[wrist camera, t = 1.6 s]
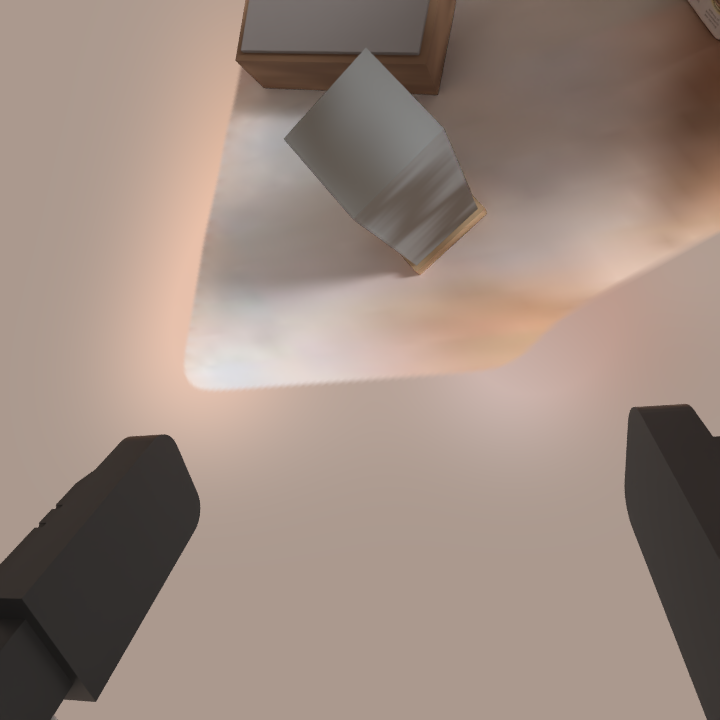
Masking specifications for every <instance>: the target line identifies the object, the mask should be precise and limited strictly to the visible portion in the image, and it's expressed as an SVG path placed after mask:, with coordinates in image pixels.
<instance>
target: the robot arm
mask: <svg viewBox="0 0 720 720" xmlns="http://www.w3.org/2000/svg"><path fill="white" fill-rule="evenodd" d="M625 498H626V505H627V511H628V515H629V519H630V522H631V525H632V528H633V530H634V533H635V536H636V538H637V541H638V543H639V546H640V548H641V551H642V554H643V556H644V559H645V561H646V564H647V566H648V569H649V572H650V574H651V577H652V579H653V582H654V584H655V587H656V590H657V592H658V594H659V597H660V600H661V603H662V605H663V607H664V610H665V613H666V615H667V618H668V621H669V623H670V626H671V628H672V631H673V633H674V636H675V638H676V641H677V643H678V646H679V649H680V651H681V654H682V657H683V659H684V661H685V664H686V667H687V669H688V672H689V675H690V677H691V679H692V682H693V685H694V687H695V690H696V693H697V695H698V698H699V700H700V703H701V705H702V708H703V710H704V713H705V716H706V718H707V720H720V436H719V437H713V436H712V435H711V433H710V432H709V431H708V429H707V428H706V426H705V425H704V423H703V422H702V421H701V420H700V418H699V417H698V415H697V414H696V412H695V411H694V410H693V408H692V407H691V406H690V405H688V404H679V405H662V406H645V407H633V408H631V410H630V413H629V418H628V433H627V450H626V470H625ZM199 516H200V500H199V496H198V493H197V491H196V489H195V486H194V484H193V482H192V479H191V477H190V475H189V472H188V470H187V468H186V466H185V463H184V461H183V458H182V456H181V454H180V451H179V449H178V447H177V445H176V443H175V441H174V440H173V439H172V438H171V437H170V436H168V435H149V436H133V437H127V438H125V439H124V440H122V441H121V442H120V443H119V444H118V446H117V447H116V448H115V449H114V450H113V451H112V452H111V453H110V454H109V455H108V456H107V458H106V459H105V460H104V461H103V462H102V463H101V464H100V465H99V466H98V467H97V468H96V469H95V470H94V471H93V472H91V473H90V474H88V475H87V476H86V477H84V478H83V479H81V480H80V481H79V482H77V483H76V484H75V485H74V486H73V487H72V488H71V489H70V490H69V491H68V493H67V494H66V495H65V496H64V497H63V498H62V499H61V500H60V501H59V502H58V503H57V504H56V509H52V510H51V511H50V512H49V513H48V514H47V515H46V516H45V517H44V518H43V519H42V520H41V521H40V523H39V527H38V528H34V529H33V530H32V531H31V532H30V533H29V534H28V535H27V537H25V538H24V540H23V541H22V542H21V543H20V544H19V545H18V546H17V547H16V548H15V549H14V550H13V552H11V554H9V556H8V557H7V558H6V559H5V560H4V561H3V562H2V563H1V564H0V720H58V719H57V718H56V717H55V716H54V714H55V712H56V711H57V709H58V707H59V706H60V704H61V703H62V701H63V699H65V700H78V701H91V702H96V701H97V699H98V697H99V695H100V694H101V692H102V690H103V689H104V687H105V685H106V683H107V682H108V680H109V678H110V676H111V674H112V673H113V671H114V669H115V668H116V666H117V664H118V663H119V661H120V659H121V657H122V655H123V654H124V652H125V650H126V649H127V647H128V645H129V644H130V642H131V640H132V638H133V637H134V635H135V633H136V631H137V630H138V628H139V626H140V624H141V623H142V621H143V619H144V617H145V616H146V614H147V612H148V610H149V609H150V607H151V605H152V604H153V602H154V600H155V598H156V597H157V595H158V593H159V591H160V590H161V588H162V586H163V585H164V583H165V581H166V579H167V578H168V576H169V574H170V572H171V571H172V569H173V567H174V566H175V564H176V562H177V560H178V558H179V557H180V555H181V553H182V552H183V550H184V548H185V546H186V545H187V543H188V541H189V540H190V538H191V536H192V534H193V533H194V531H195V529H196V527H197V524H198V521H199Z"/></svg>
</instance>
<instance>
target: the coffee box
mask: <svg viewBox="0 0 720 720" xmlns="http://www.w3.org/2000/svg"><path fill="white" fill-rule="evenodd" d="M688 2H689V3H690V4H691V6H692V7H693V9H694V10H695V11H696V13H697V14H698V16H699V17H700V18H701V20H702V21H703V22H704V24H705V25H706V26H707V28H708V29H709V31H710V32H711V33H712V34H713V36H714V37H715V38H716V39H720V0H688Z"/></svg>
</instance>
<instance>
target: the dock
mask: <svg viewBox="0 0 720 720" xmlns="http://www.w3.org/2000/svg"><path fill="white" fill-rule="evenodd" d="M455 5H456V0H246V1H245V7H244V13H243V19H242V25H241V32H240V37H239V43H238V49H237V55H236V61H237V62H238V63H239V64H240V65H241V66H242V67H243V68H244V69H245V70H246V71H247V72H248V73H249V74H250V75H251V76H252V77H253V78H254V79H255V80H256V81H257V82H258V83H259V84H260V85H261V86H262V87H263V88H278V89H304V90H328V89H329V88H330V87H331V86H332V85H333V83H334V82H335V81H336V80H337V79H338V78H339V77H340V76H341V75H342V73H343V72H344V71H345V70H346V69H347V68H348V67H349V66H350V65H351V63H352V62H353V61H354V60H355V59H356V58H357V57H358V56H359V55H360V53H361V52H362V51H363V50H364V49H365V48H367V49H368V50H369V51H370V52H371V53H372V54H373V55H374V56H375V57H376V58H377V59H378V60H379V62H380V63H381V64H382V65H383V66H384V67H385V68H386V69H387V70H388V71H389V72H390V73H391V74H392V75H393V76H394V77H395V78H396V79H397V80H398V81H399V82H400V83H401V84H402V85H403V86H404V87H405V88H406V90H407V91H408V92H409V93H410V94H431V95H438V91H439V86H440V81H441V76H442V71H443V66H444V61H445V56H446V51H447V46H448V41H449V35H450V30H451V25H452V20H453V15H454V10H455Z"/></svg>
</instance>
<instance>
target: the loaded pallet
mask: <svg viewBox="0 0 720 720" xmlns="http://www.w3.org/2000/svg"><path fill="white" fill-rule="evenodd" d="M284 140H285V141H286V142H287V143H288V144H289V146H290V147H291V148H292V149H293V150H294V151H295V153H296V154H297V155H298V156H299V157H300V158H301V160H302V161H303V162H304V163H305V164H306V165H307V167H308V168H309V169H310V170H311V171H312V172H313V173H314V175H315V176H316V177H317V178H318V179H319V180H320V182H321V183H322V184H323V185H324V186H325V187H326V189H327V190H328V191H329V192H330V193H331V194H332V195H333V197H334V198H335V199H336V200H337V201H338V202H339V204H340V205H341V206H342V207H343V208H344V209H345V211H346V212H347V213H348V214H349V215H350V216H351V217H352V219H353V220H355V221H356V222H357V223H359V224H360V225H362V226H363V227H364V228H366V229H367V230H368V231H370V232H371V233H373V234H374V235H375V236H377V237H378V238H379V239H381V240H382V241H384V242H385V243H386V244H388V245H389V246H390V247H392V248H393V249H395V250H396V251H397V252H399V253H400V254H401V256H402V257H403V258H404V259H405V260H406V261H407V262H408V264H409V265H410V266H411V267H412V268H413V269H414V270H415V272H416V273H418V274H419V275H421V274H422V273H423V272H424V271H425V270H426V269H427V268H428V267H429V266H431V265H432V264H433V263H434V262H435V261H436V260H437V259H438V258H439V257H440V256H441V255H443V254H444V253H445V252H446V251H447V250H448V249H449V248H450V247H451V246H452V245H453V244H454V243H456V242H457V241H458V240H459V239H460V238H461V237H462V236H463V235H464V234H465V233H466V232H468V231H469V230H470V229H471V228H472V227H473V226H474V225H475V224H476V223H477V222H478V221H479V220H481V219H482V218H483V217H484V216H485V215H486V214H487V213H486V210H485V208H484V207H483V206H482V205H481V204H480V203H479V202H478V201H477V200H476V199H475V198H474V197H473V195H472V194H471V191H470V189H469V187H468V184H467V182H466V179H465V177H464V175H463V172H462V170H461V168H460V165H459V163H458V160H457V158H456V156H455V153H454V151H453V149H452V146H451V144H450V141H449V139H448V137H447V134H446V132H445V129H444V128H443V127H442V126H441V125H440V124H439V123H438V122H437V121H436V120H435V119H434V118H433V116H432V115H431V114H430V113H429V112H428V111H427V110H426V109H425V108H424V107H423V106H422V105H421V104H420V103H419V102H418V101H417V100H416V99H415V98H414V97H413V96H412V95H411V94H410V93H409V92H408V91H407V90H406V88H405V87H404V86H403V85H402V84H401V83H400V82H399V81H398V80H397V79H396V78H395V77H394V76H393V75H392V74H391V73H390V72H389V71H388V70H387V69H386V68H385V67H384V66H383V65H382V64H381V63H380V62H379V60H378V59H377V58H376V57H375V56H374V55H373V54H372V53H371V52H370V51H369V50H368V49H367V48H365V49H364V50H363V51H362V52H361V53H360V55H359V56H358V57H357V58H356V59H355V60H354V61H353V62H352V63H351V65H350V66H349V67H348V68H347V69H346V70H345V71H344V72H343V73H342V75H341V76H340V77H339V78H338V79H337V80H336V81H335V82H334V83H333V85H332V86H331V87H330V88H329V89H328V90H327V91H326V92H325V93H324V95H323V96H322V97H321V98H320V99H319V100H318V101H317V102H316V103H315V105H314V106H313V107H312V108H311V109H310V110H309V111H308V112H307V114H306V115H305V116H304V117H303V118H302V119H301V120H300V121H299V122H298V124H297V125H296V126H295V127H294V128H293V129H292V130H291V131H290V132H289V134H288V135H287V136H286V137H285V138H284Z"/></svg>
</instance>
